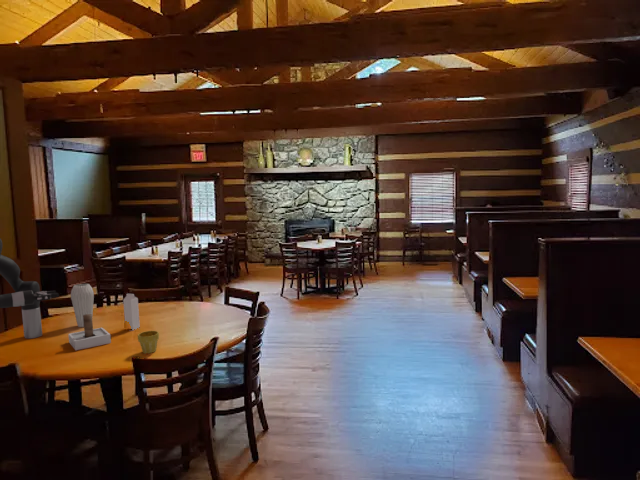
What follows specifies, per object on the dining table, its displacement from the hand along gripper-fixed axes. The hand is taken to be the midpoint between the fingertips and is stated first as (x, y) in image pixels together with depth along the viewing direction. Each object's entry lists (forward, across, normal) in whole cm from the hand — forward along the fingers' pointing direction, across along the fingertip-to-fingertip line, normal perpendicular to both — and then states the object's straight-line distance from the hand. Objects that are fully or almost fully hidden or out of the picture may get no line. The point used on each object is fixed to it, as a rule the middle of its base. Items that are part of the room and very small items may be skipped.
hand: (57, 293), depth 255 cm
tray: (+14, 0, +30) cm, 33 cm away
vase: (+20, +40, +30) cm, 55 cm away
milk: (+41, +11, +31) cm, 52 cm away
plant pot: (+34, -39, +31) cm, 60 cm away
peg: (+14, 0, +30) cm, 33 cm away
